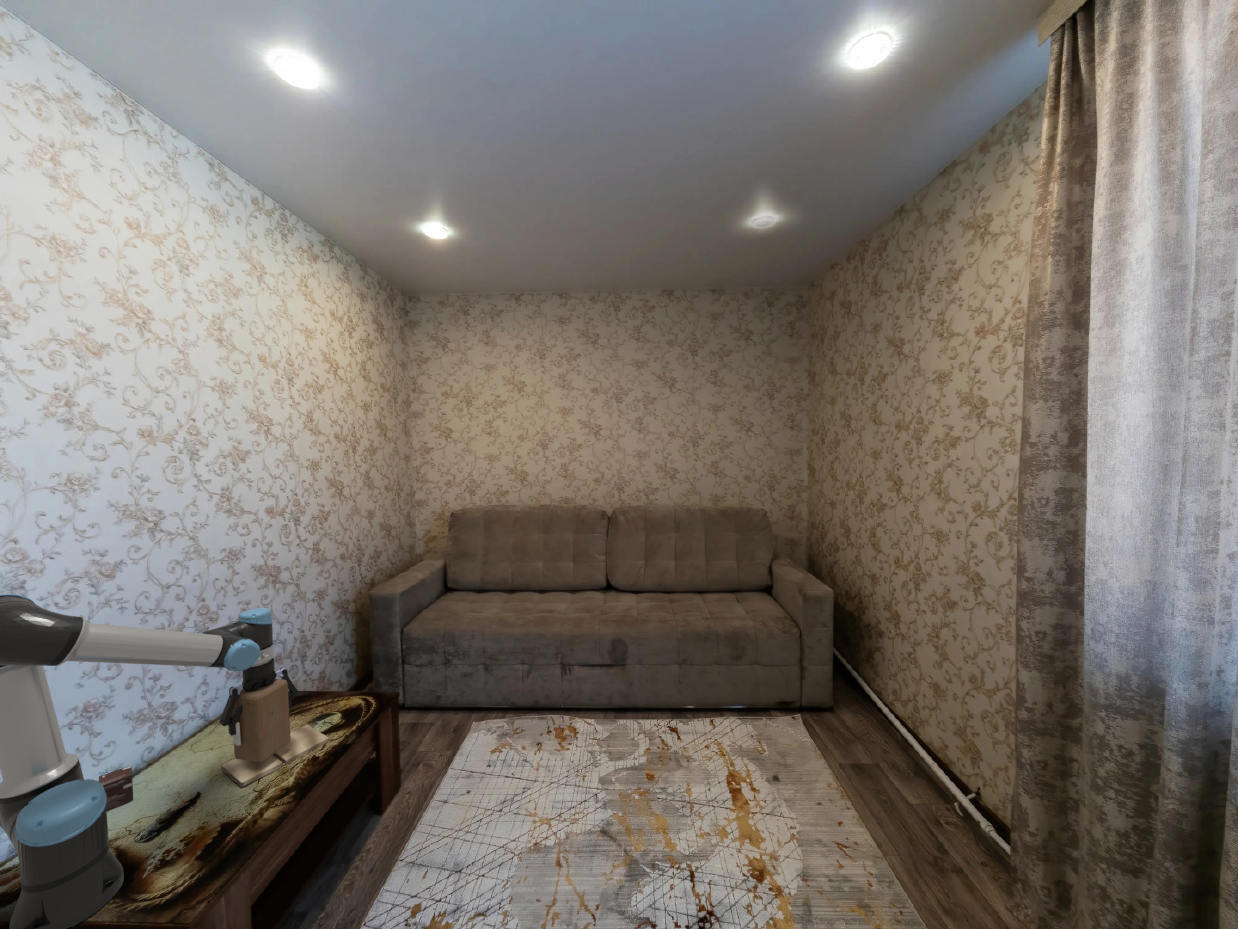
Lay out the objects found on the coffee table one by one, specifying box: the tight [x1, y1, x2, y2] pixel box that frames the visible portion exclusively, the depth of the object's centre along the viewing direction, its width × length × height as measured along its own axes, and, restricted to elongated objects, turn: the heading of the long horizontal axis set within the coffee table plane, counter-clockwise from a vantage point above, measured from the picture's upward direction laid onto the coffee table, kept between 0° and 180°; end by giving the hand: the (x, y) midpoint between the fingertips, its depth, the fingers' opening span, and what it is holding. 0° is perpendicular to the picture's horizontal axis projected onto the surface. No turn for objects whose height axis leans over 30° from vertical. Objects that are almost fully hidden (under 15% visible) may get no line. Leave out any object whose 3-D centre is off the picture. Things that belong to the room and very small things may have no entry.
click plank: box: [220, 754, 284, 788], centre depth 134 cm, size 10×14×1 cm
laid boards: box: [272, 724, 330, 765], centre depth 145 cm, size 12×14×1 cm
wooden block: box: [232, 678, 291, 762], centre depth 136 cm, size 10×10×20 cm
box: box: [98, 765, 134, 812], centre depth 122 cm, size 6×6×7 cm
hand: (262, 732), depth 137 cm, fingers closed on wooden block, 12 cm apart
